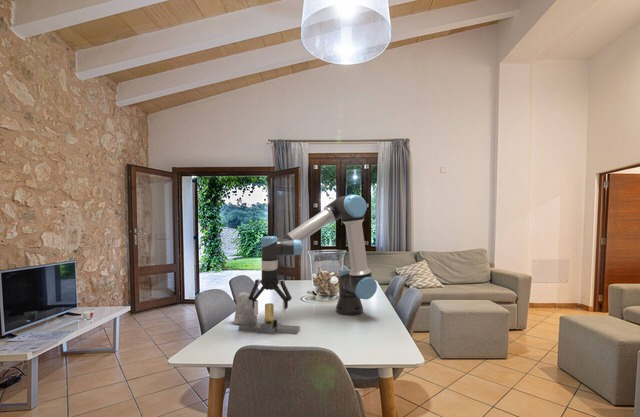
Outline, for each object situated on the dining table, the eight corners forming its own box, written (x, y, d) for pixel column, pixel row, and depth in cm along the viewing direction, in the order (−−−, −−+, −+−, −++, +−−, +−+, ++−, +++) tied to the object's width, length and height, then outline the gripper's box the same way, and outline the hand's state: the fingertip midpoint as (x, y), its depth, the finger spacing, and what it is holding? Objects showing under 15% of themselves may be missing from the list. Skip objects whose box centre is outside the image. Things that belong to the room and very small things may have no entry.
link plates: (300, 329, 150) (300, 320, 150) (296, 335, 142) (296, 326, 142) (244, 326, 155) (244, 317, 155) (237, 331, 147) (237, 322, 147)
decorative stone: (257, 321, 162) (258, 291, 162) (254, 325, 156) (255, 294, 157) (236, 321, 162) (237, 291, 163) (232, 325, 156) (233, 294, 157)
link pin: (274, 329, 150) (274, 303, 151) (271, 332, 146) (272, 305, 147) (266, 328, 151) (266, 303, 151) (263, 331, 147) (263, 305, 148)
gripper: (297, 268, 151) (298, 313, 151) (247, 267, 156) (248, 312, 155) (293, 271, 144) (294, 318, 143) (241, 270, 148) (241, 316, 148)
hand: (270, 315), depth 149 cm, fingers open, 13 cm apart
